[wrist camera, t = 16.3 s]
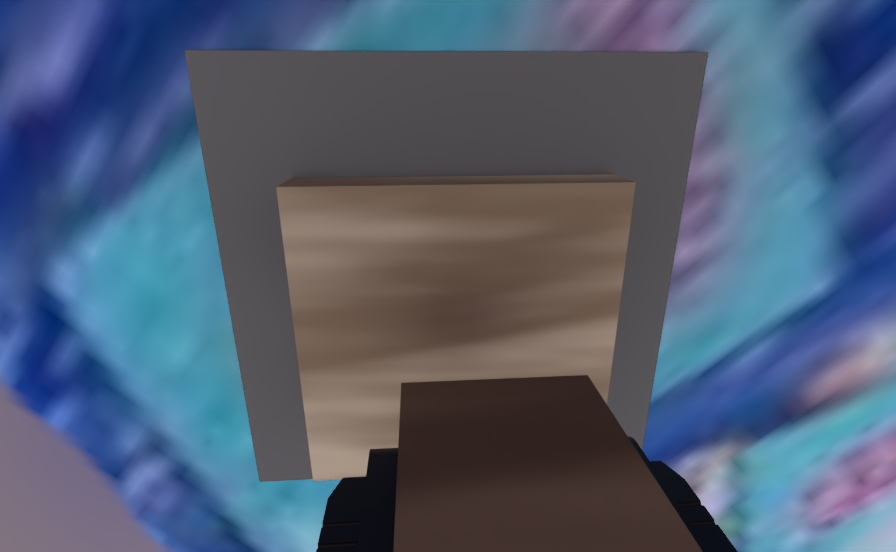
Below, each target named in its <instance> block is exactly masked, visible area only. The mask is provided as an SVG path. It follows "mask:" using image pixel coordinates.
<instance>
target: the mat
mask: <svg viewBox="0 0 896 552" xmlns="http://www.w3.org/2000/svg"><path fill="white" fill-rule="evenodd" d="M184 51H185V56H186V62H187V68H188V73H189V79H190V85H191V91H192V96H193V102H194V108H195V114H196V119H197V125H198V131H199V137H200V142H201V148H202V154H203V160H204V165H205V171H206V177H207V183H208V188H209V194H210V200H211V206H212V211H213V217H214V223H215V228H216V234H217V240H218V246H219V251H220V257H221V263H222V269H223V274H224V280H225V286H226V292H227V297H228V303H229V309H230V315H231V320H232V326H233V332H234V338H235V343H236V349H237V355H238V361H239V366H240V372H241V378H242V383H243V389H244V395H245V401H246V406H247V412H248V418H249V424H250V429H251V435H252V441H253V447H254V452H255V458H256V464H257V470H258V475H259V481H260V482H263V481H283V480H302V479H313V477H312V469H311V461H310V453H309V445H308V437H307V429H306V421H305V413H304V405H303V397H302V389H301V381H300V373H299V365H298V357H297V349H296V341H295V333H294V326H293V318H292V310H291V302H290V294H289V286H288V278H287V270H286V262H285V254H284V246H283V238H282V230H281V222H280V214H279V206H278V198H277V190H276V187H277V186H279V185H281V184H282V183H284V182H286V181H287V180H289V179H291V178H356V177H434V176H512V175H591V174H613V175H616V176H619V177H622V178H625V179H628V180H631V181H634V182H636V184H635V192H634V200H633V207H632V215H631V223H630V230H629V238H628V246H627V253H626V261H625V269H624V277H623V284H622V292H621V300H620V307H619V315H618V323H617V330H616V338H615V346H614V353H613V361H612V369H611V376H610V384H609V392H608V399H607V406H608V407H609V409H610V410H611V412H612V413H613V415H614V416H615V418H616V419H617V421H618V422H619V424H620V426H621V427H622V429H623V430H624V432H625V433H626V435H627V436H629V437H632V438H634V439H635V441H636V442H637V443H638V445H639V446H640V448H641V449H642V448H643V442H644V436H645V430H646V423H647V417H648V411H649V405H650V399H651V393H652V387H653V381H654V375H655V369H656V363H657V357H658V351H659V345H660V339H661V333H662V327H663V321H664V315H665V309H666V303H667V297H668V291H669V285H670V279H671V273H672V267H673V261H674V255H675V249H676V243H677V237H678V231H679V225H680V219H681V213H682V207H683V201H684V195H685V189H686V183H687V177H688V171H689V165H690V159H691V153H692V147H693V141H694V135H695V129H696V123H697V117H698V111H699V105H700V99H701V93H702V87H703V81H704V75H705V69H706V63H707V57H708V52H512V51H243V50H184Z"/></svg>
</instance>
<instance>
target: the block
mask: <svg viewBox="0 0 896 552" xmlns="http://www.w3.org/2000/svg"><path fill="white" fill-rule="evenodd" d="M393 552H702V550H701V548H700V547H699V545H698V544H697V542H696V541H695V539H694V538H693V536H692V535H691V533H690V532H689V530H688V528H687V527H686V525H685V524H684V522H683V521H682V519H681V518H680V516H679V515H678V513H677V512H676V510H675V509H674V507H673V505H672V504H671V502H670V501H669V499H668V498H667V496H666V495H665V493H664V492H663V490H662V489H661V487H660V485H659V484H658V482H657V481H656V479H655V478H654V476H653V475H652V473H651V472H650V470H649V469H648V467H647V466H646V464H645V462H644V461H643V459H642V458H641V456H640V455H639V453H638V452H637V450H636V449H635V447H634V446H633V444H632V442H631V441H630V439H629V438H628V436H627V435H626V433H625V432H624V430H623V429H622V427H621V426H620V424H619V422H618V421H617V419H616V418H615V416H614V415H613V413H612V412H611V410H610V409H609V407H608V406H607V404H606V403H605V401H604V399H603V398H602V396H601V395H600V393H599V392H598V390H597V389H596V387H595V386H594V384H593V383H592V381H591V379H590V378H589V376H588V375H575V376H551V377H527V378H503V379H479V380H455V381H431V382H407V383H401V400H400V421H399V442H398V464H397V485H396V507H395V528H394V550H393Z"/></svg>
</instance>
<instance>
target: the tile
mask: <svg viewBox="0 0 896 552" xmlns="http://www.w3.org/2000/svg"><path fill="white" fill-rule="evenodd" d="M635 184H636V182H634V181H631V180H628V179H625V178H622V177H619V176H616V175H613V174H591V175H512V176H434V177H356V178H291V179H289V180H287V181H286V182H284V183H282V184H281V185H279V186H277V187H276V190H277V198H278V206H279V214H280V222H281V230H282V238H283V246H284V254H285V262H286V270H287V278H288V286H289V294H290V302H291V310H292V318H293V326H294V333H295V341H296V349H297V357H298V365H299V373H300V381H301V389H302V397H303V405H304V413H305V421H306V429H307V437H308V445H309V453H310V461H311V469H312V477H313V481H319V480H338V479H343V478H345V477H364V476H366V473H367V466H368V458H369V452H370V449H381V448H398V442H399V421H400V400H401V383H407V382H431V381H455V380H479V379H503V378H527V377H551V376H575V375H588V376H589V378H590V379H591V381H592V383H593V384H594V386H595V387H596V389H597V390H598V392H599V393H600V395H601V396H602V398H603V399H604V401H605V403H606V404H607V399H608V392H609V384H610V376H611V369H612V361H613V353H614V346H615V338H616V330H617V323H618V315H619V307H620V300H621V292H622V284H623V277H624V269H625V261H626V253H627V246H628V238H629V230H630V223H631V215H632V207H633V200H634V192H635Z"/></svg>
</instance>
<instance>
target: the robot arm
mask: <svg viewBox="0 0 896 552" xmlns="http://www.w3.org/2000/svg"><path fill="white" fill-rule="evenodd" d="M628 438H629V439H630V441H631V442H632V444H633V446H634V447H635V449H636V450H637V452H638V453H639V455H640V456H641V458H642V459H643V461H644V462H645V464H646V466H647V467H648V469H649V470H650V472H651V473H652V475H653V476H654V478H655V479H656V481H657V482H658V484H659V485H660V487H661V489H662V490H663V492H664V493H665V495H666V496H667V498H668V499H669V501H670V502H671V504H672V505H673V507H674V509H675V510H676V512H677V513H678V515H679V516H680V518H681V519H682V521H683V522H684V524H685V525H686V527H687V528H688V530H689V532H690V533H691V535H692V536H693V538H694V539H695V541H696V542H697V544H698V545H699V547H700V548H701V550H702V552H737V550H736V549H735V548H734V546H733V545H732V544H731V542H730V541H729V539H728V538H727V537H726V535H725V534H724V533H723V531H722V530H721V529H720V527H719V526H718V525H715V523H714V519H713V518H712V516H711V515H710V513H709V512H708V511H707V509H706V508H705V507H704V506H702V505H701V503H700V500H699V498H698V497H697V496H696V494H695V493H694V492H693V490H692V489H691V487H690V486H689V485H688V483H687V482H686V481H685V479H684V478H682V477H681V476H680V475H679V474H677V473H676V472H675V471H673V470H672V469H671V468H669V467H668V466H667V465H666V464H664V463H663V462H662V461H651V462H650V461H649V460H648V458H647V457H646V455H645V454H644V452H643V451H642V449H641V448H640V446H639V445H638V443H637V442H636V441H635V439H634V438H632V437H629V436H628ZM397 464H398V448H381V449H370V452H369V458H368V466H367V473H366V476H364V477H345V478H343V479H342V480H341V481H340V483H339V484H338V485H337V487H336V488H335V490H334V491H333V492H332V494H331V495H330V497H329V498H328V501H327V505H326V510H325V514H324V519H323V527H322V528H321V533H320V537H319V542H318V549H317V551H316V552H393V550H394V528H395V507H396V485H397Z"/></svg>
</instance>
